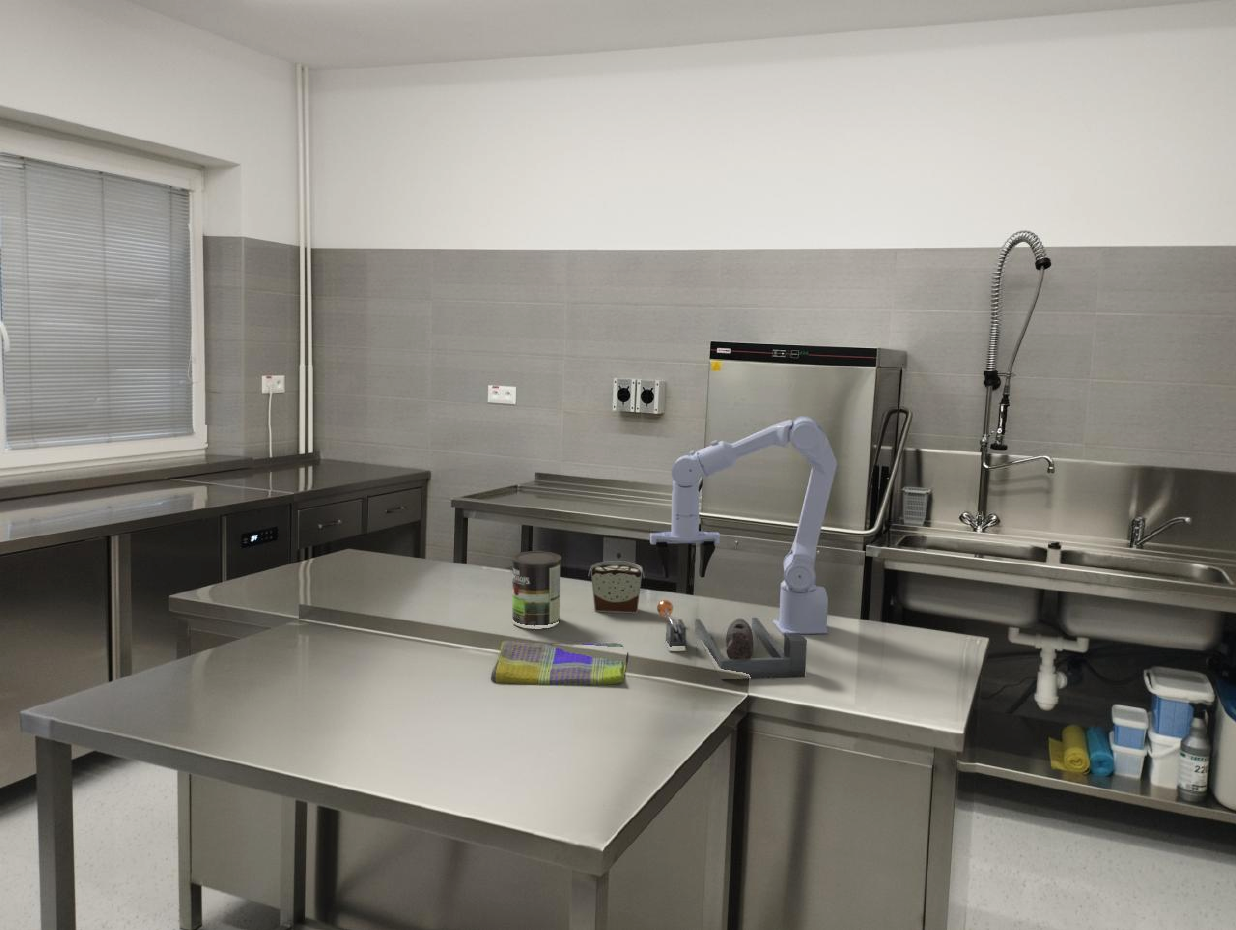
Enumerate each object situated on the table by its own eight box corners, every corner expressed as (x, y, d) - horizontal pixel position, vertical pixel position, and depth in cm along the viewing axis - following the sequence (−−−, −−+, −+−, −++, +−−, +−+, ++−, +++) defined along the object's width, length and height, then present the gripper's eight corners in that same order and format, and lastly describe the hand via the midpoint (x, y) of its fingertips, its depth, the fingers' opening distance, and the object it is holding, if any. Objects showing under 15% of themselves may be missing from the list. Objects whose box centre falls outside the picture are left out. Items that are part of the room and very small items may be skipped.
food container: (646, 604, 212) (646, 561, 211) (644, 613, 206) (644, 569, 204) (591, 602, 213) (591, 559, 212) (588, 611, 207) (588, 567, 206)
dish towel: (622, 690, 166) (622, 675, 166) (485, 685, 168) (485, 670, 167) (628, 654, 183) (628, 641, 183) (503, 650, 185) (503, 636, 184)
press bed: (768, 629, 197) (769, 596, 196) (805, 677, 172) (806, 640, 170) (660, 631, 195) (661, 598, 194) (682, 680, 169) (682, 643, 168)
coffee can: (528, 633, 193) (528, 566, 191) (502, 619, 201) (502, 555, 199) (570, 623, 199) (570, 558, 197) (543, 610, 207) (543, 548, 205)
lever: (671, 613, 202) (672, 597, 201) (684, 639, 186) (685, 622, 185) (655, 613, 201) (656, 598, 201) (667, 639, 185) (667, 623, 185)
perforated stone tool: (726, 641, 190) (727, 608, 189) (752, 643, 189) (754, 609, 188) (724, 669, 175) (725, 633, 174) (753, 671, 174) (754, 635, 173)
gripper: (715, 509, 202) (714, 570, 204) (648, 509, 201) (647, 571, 203) (722, 516, 195) (720, 579, 197) (653, 517, 194) (651, 581, 196)
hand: (683, 576), depth 200 cm, fingers open, 7 cm apart
